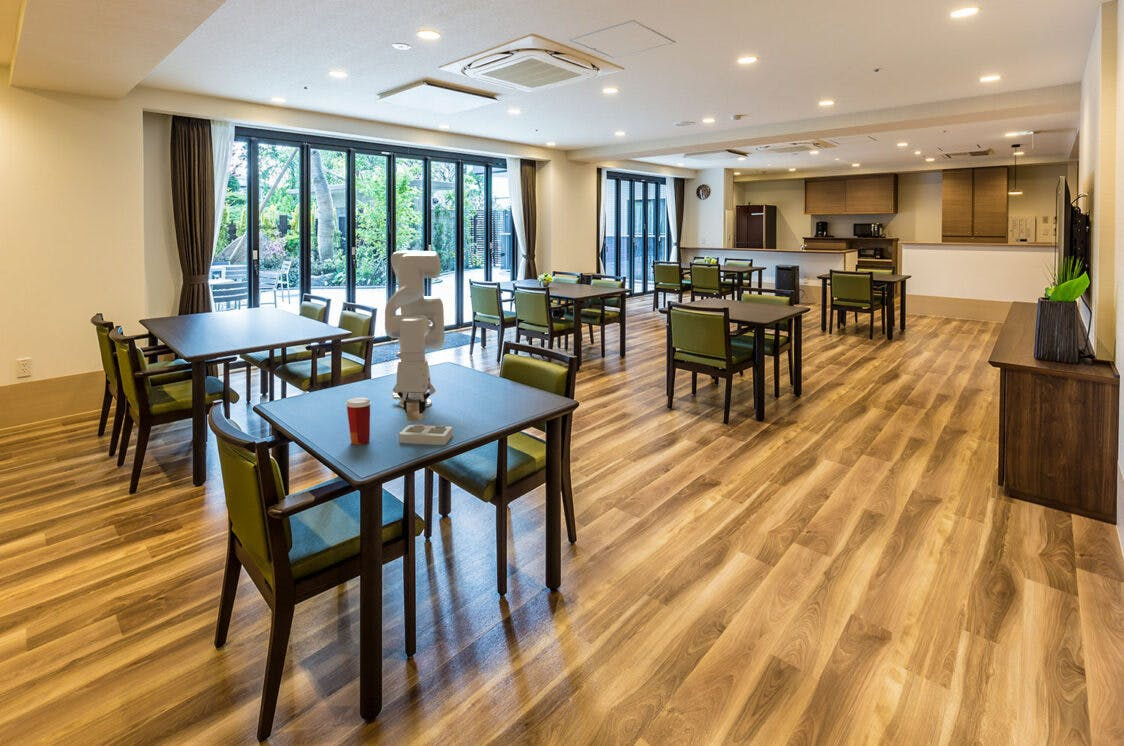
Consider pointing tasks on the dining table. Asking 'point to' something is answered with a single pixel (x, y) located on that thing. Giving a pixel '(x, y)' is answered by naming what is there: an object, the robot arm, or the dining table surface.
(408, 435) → the socket block
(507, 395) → the dining table surface
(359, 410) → the paper cup
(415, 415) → the plug
